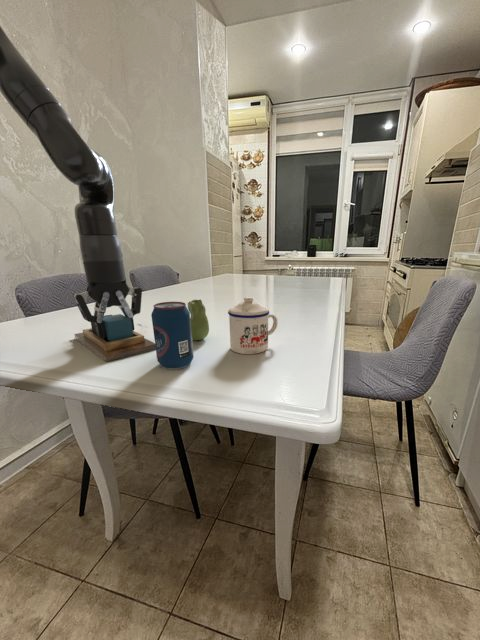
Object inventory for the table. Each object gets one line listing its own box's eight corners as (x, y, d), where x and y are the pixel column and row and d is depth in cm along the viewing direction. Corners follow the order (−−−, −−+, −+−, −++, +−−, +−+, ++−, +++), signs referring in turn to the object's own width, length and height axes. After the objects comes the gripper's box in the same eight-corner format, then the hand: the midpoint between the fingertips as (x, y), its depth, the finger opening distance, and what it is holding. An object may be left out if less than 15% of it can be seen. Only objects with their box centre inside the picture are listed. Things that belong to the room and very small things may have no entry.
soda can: (151, 364, 58) (143, 304, 54) (182, 354, 63) (176, 299, 58) (169, 374, 53) (161, 310, 49) (200, 363, 58) (196, 304, 54)
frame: (106, 362, 59) (103, 349, 58) (75, 338, 73) (72, 328, 72) (157, 348, 66) (155, 337, 65) (119, 329, 81) (118, 320, 80)
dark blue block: (101, 341, 68) (97, 322, 66) (93, 335, 72) (89, 317, 70) (123, 336, 71) (120, 318, 69) (114, 331, 75) (111, 314, 73)
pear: (212, 340, 72) (210, 300, 68) (191, 344, 69) (187, 302, 66) (205, 335, 76) (202, 296, 73) (185, 338, 74) (181, 298, 70)
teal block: (111, 342, 63) (107, 322, 62) (101, 336, 67) (97, 317, 66) (133, 337, 67) (130, 318, 65) (123, 332, 71) (120, 313, 69)
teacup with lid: (240, 358, 61) (238, 303, 57) (223, 345, 68) (220, 296, 64) (287, 348, 67) (288, 297, 62) (266, 337, 74) (267, 291, 70)
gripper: (129, 256, 68) (140, 326, 74) (58, 259, 59) (77, 338, 65) (144, 257, 63) (154, 332, 69) (68, 260, 54) (88, 346, 60)
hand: (117, 335), depth 67 cm, fingers closed on teal block, 5 cm apart
